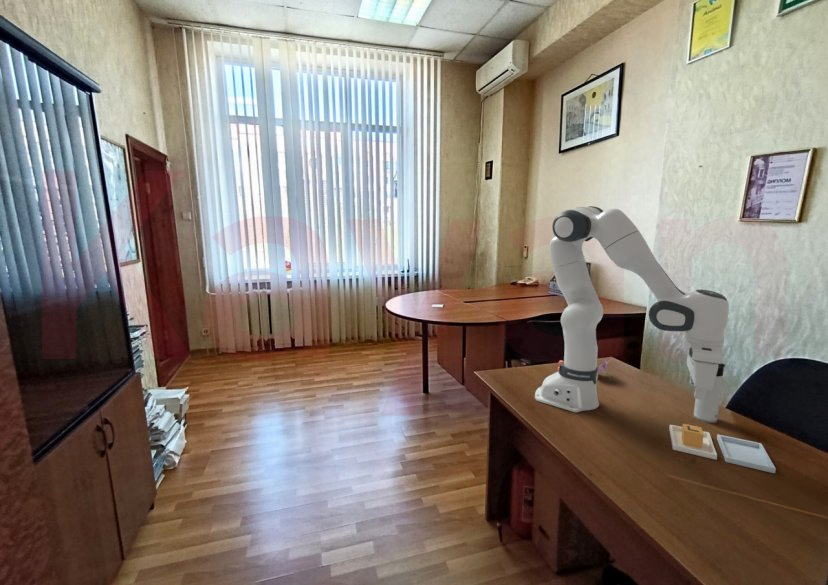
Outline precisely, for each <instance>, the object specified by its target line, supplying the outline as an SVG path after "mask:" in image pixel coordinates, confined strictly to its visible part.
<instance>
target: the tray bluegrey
mask: <svg viewBox="0 0 828 585" xmlns="http://www.w3.org/2000/svg"><path fill="white" fill-rule="evenodd" d="M716 439H717V442H718V444H719V448H720V451H721V453H722V455H723V459H724V460H725V463H729V464H733V465H737V466H742V467H746V468H750V469H755V470H759V471H763V472H766V473H767V472H768V473H772V474H776V470H777V468H776V467H775V465H774V463H773V462H772V461H773V460H772V459H771V458H770V456H769V454H768V452H767V451H766V449H765V447H764V445H763V444H762V442H757V441H751V440H748V439H741V438H737V437H733V436H727V435H722V434H719V433H717V434H716Z"/></svg>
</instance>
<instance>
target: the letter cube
mask: <svg viewBox="0 0 828 585" xmlns="http://www.w3.org/2000/svg"><path fill="white" fill-rule="evenodd" d="M681 427H682V435H681V438H682V442H683V445H688V446H692V447H696V448H701V449H702V444H703V436H704V434H703V429H702V426H697V425H691V424H687V423H682V426H681Z"/></svg>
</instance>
